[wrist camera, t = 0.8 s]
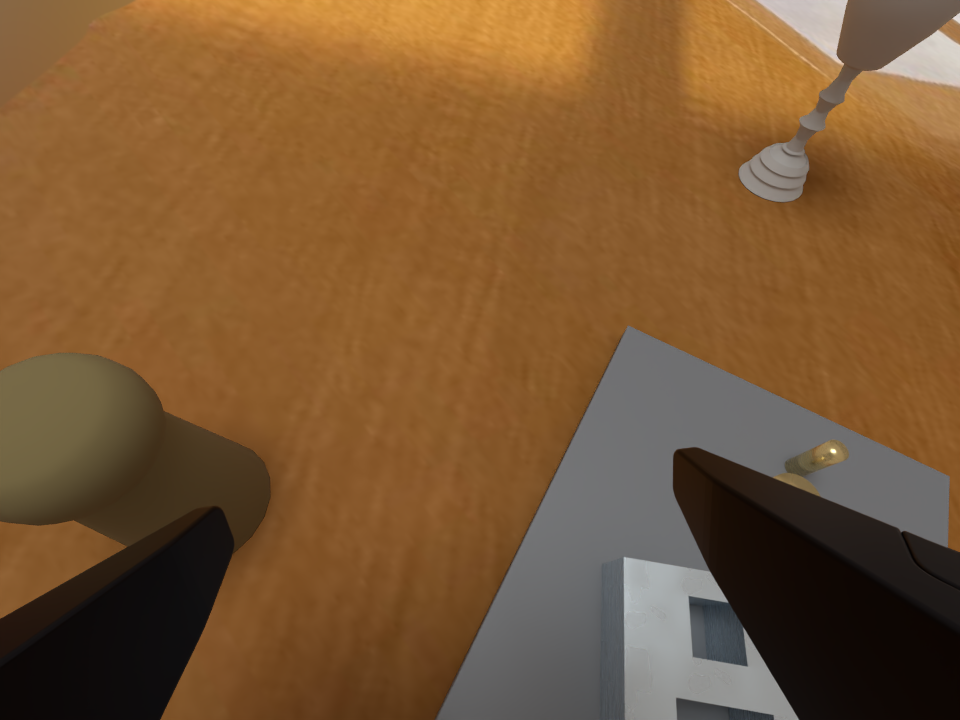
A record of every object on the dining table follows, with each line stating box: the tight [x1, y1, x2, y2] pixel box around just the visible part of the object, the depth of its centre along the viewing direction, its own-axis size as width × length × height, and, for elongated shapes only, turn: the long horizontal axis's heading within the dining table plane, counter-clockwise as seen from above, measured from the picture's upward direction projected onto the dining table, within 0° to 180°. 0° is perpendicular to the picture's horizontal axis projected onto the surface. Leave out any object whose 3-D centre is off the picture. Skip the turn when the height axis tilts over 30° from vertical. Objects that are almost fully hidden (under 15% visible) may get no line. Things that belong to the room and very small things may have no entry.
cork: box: [0, 353, 270, 553], centre depth 17 cm, size 6×6×11 cm
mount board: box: [435, 326, 949, 720], centre depth 20 cm, size 26×18×1 cm
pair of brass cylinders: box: [773, 440, 849, 497], centre depth 21 cm, size 6×2×4 cm, turn 126°
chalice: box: [739, 0, 960, 202], centre depth 28 cm, size 7×7×18 cm
